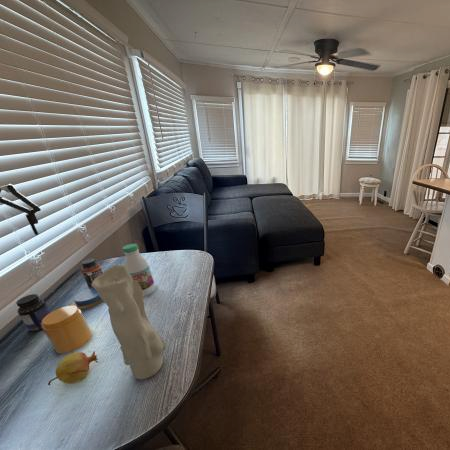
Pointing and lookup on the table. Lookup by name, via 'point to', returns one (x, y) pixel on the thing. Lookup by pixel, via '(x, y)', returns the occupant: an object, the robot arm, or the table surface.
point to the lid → (87, 297)
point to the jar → (66, 329)
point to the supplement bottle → (91, 271)
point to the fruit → (74, 367)
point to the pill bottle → (32, 311)
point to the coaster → (86, 305)
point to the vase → (130, 321)
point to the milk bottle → (138, 268)
